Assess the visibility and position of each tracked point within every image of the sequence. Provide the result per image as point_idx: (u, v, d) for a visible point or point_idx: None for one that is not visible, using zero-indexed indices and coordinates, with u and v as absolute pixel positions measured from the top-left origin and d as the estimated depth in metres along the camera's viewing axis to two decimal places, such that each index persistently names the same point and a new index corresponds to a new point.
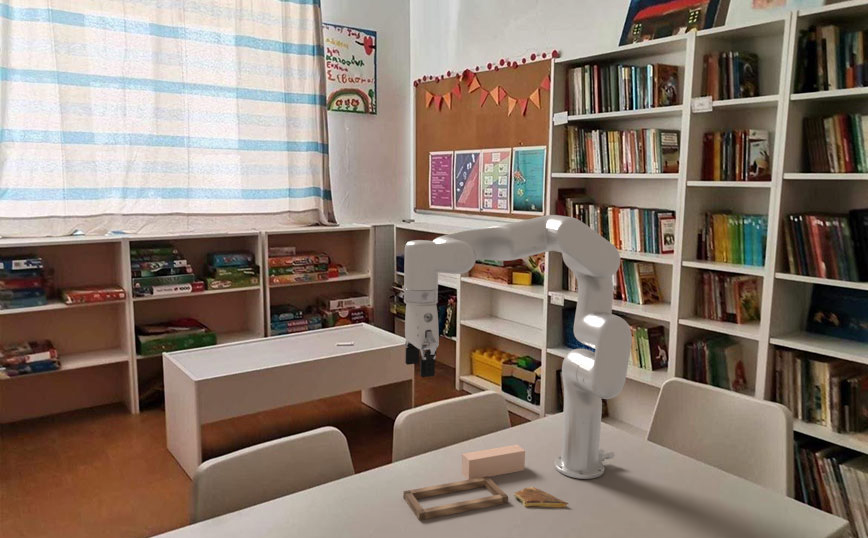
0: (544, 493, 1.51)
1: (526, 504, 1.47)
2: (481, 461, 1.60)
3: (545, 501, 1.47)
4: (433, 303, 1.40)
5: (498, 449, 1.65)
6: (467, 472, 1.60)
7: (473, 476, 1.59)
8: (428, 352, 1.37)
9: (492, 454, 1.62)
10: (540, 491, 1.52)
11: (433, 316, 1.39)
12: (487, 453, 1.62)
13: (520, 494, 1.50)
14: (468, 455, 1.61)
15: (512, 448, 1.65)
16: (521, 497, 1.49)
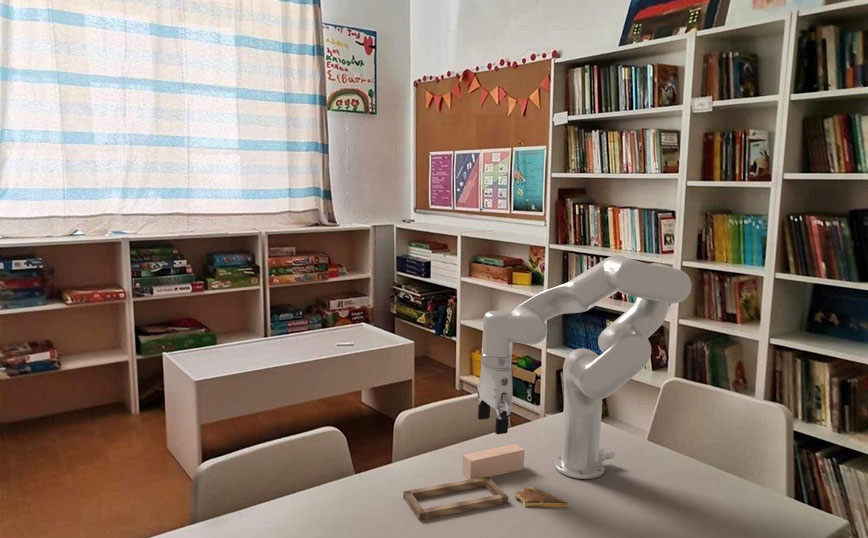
0: (544, 493, 1.51)
1: (526, 504, 1.47)
2: (482, 462, 1.59)
3: (545, 501, 1.47)
4: (508, 368, 1.57)
5: (498, 449, 1.65)
6: (468, 473, 1.59)
7: (474, 477, 1.59)
8: (504, 413, 1.54)
9: (492, 454, 1.62)
10: (540, 491, 1.52)
11: (508, 380, 1.56)
12: (487, 453, 1.62)
13: (520, 494, 1.50)
14: (469, 456, 1.61)
15: (511, 448, 1.66)
16: (521, 497, 1.49)
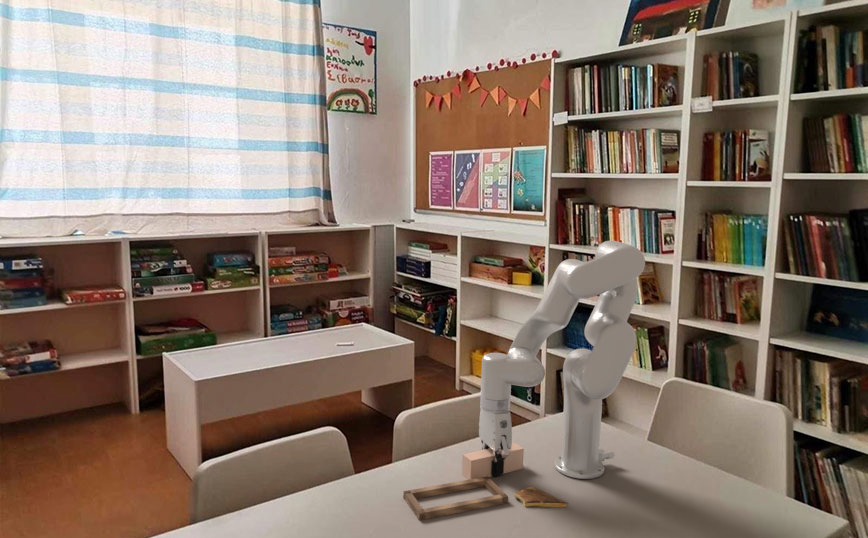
0: (544, 493, 1.51)
1: (526, 504, 1.47)
2: (482, 461, 1.59)
3: (546, 501, 1.47)
4: (507, 410, 1.59)
5: None
6: (468, 473, 1.59)
7: (475, 476, 1.59)
8: (499, 456, 1.58)
9: (492, 453, 1.62)
10: (540, 491, 1.52)
11: (507, 422, 1.58)
12: (487, 452, 1.62)
13: (520, 494, 1.50)
14: (469, 455, 1.60)
15: None
16: (521, 497, 1.49)
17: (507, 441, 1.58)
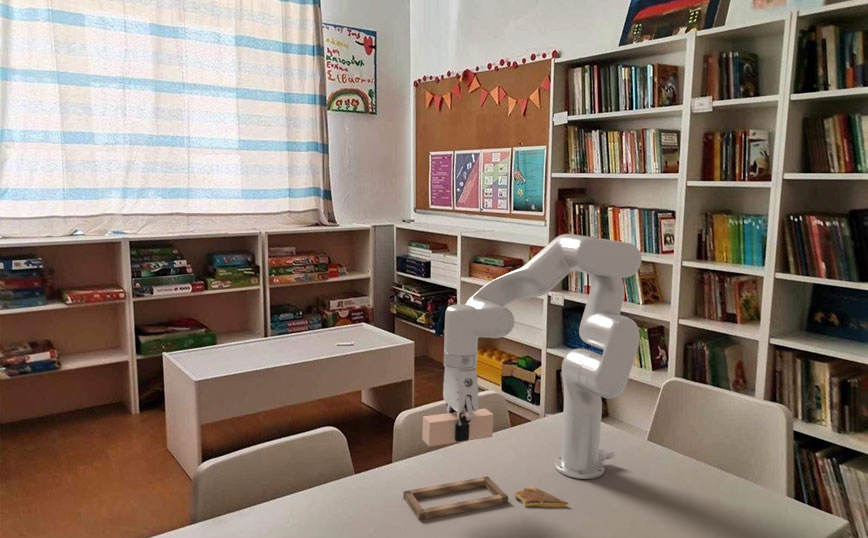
0: (544, 493, 1.51)
1: (526, 504, 1.47)
2: (444, 424, 1.43)
3: (546, 501, 1.47)
4: (473, 368, 1.42)
5: None
6: (427, 437, 1.43)
7: (434, 441, 1.43)
8: (463, 419, 1.42)
9: (456, 417, 1.45)
10: (540, 491, 1.52)
11: (473, 381, 1.41)
12: (451, 416, 1.46)
13: (520, 494, 1.50)
14: (429, 417, 1.45)
15: (479, 412, 1.49)
16: (521, 497, 1.49)
17: (472, 402, 1.42)
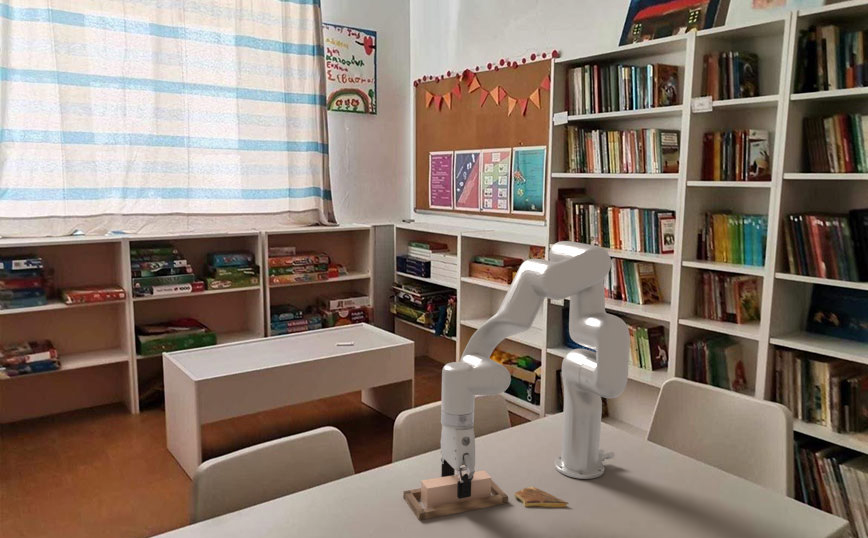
0: (544, 493, 1.51)
1: (526, 504, 1.47)
2: (441, 489, 1.45)
3: (546, 501, 1.48)
4: (470, 426, 1.44)
5: None
6: (425, 501, 1.45)
7: (432, 506, 1.45)
8: (465, 477, 1.41)
9: (454, 481, 1.47)
10: (540, 491, 1.52)
11: (470, 439, 1.43)
12: (449, 480, 1.48)
13: (521, 494, 1.50)
14: (427, 482, 1.47)
15: (477, 475, 1.50)
16: (521, 497, 1.49)
17: (470, 460, 1.43)
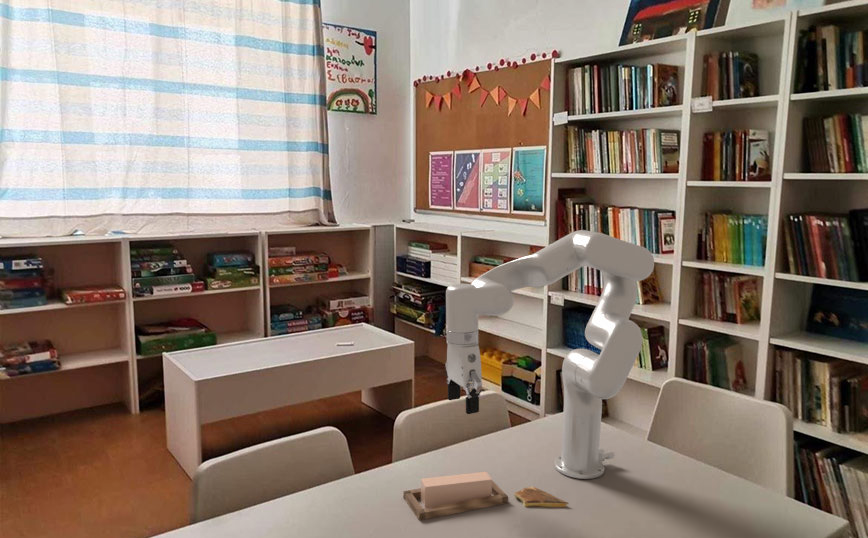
0: (544, 493, 1.51)
1: (526, 504, 1.47)
2: (440, 489, 1.45)
3: (546, 501, 1.48)
4: (475, 343, 1.48)
5: (463, 476, 1.50)
6: (424, 500, 1.46)
7: (430, 505, 1.45)
8: (473, 391, 1.45)
9: (453, 481, 1.47)
10: (540, 491, 1.52)
11: (476, 356, 1.47)
12: (449, 480, 1.48)
13: (521, 494, 1.50)
14: (427, 480, 1.47)
15: (478, 476, 1.50)
16: (521, 497, 1.49)
17: None
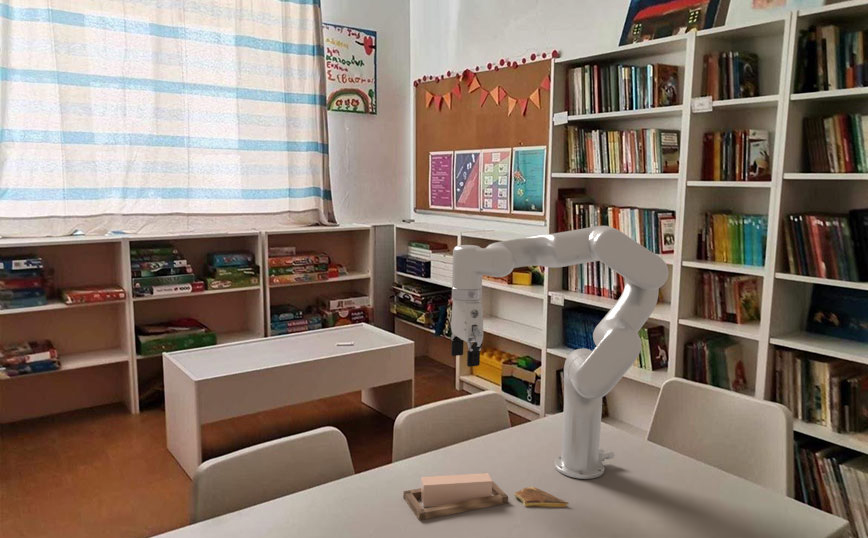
0: (544, 493, 1.51)
1: (526, 504, 1.47)
2: (438, 488, 1.46)
3: (546, 501, 1.48)
4: (478, 301, 1.58)
5: (463, 476, 1.50)
6: (422, 498, 1.47)
7: (429, 503, 1.46)
8: (475, 344, 1.55)
9: (453, 481, 1.47)
10: (540, 491, 1.52)
11: (479, 312, 1.57)
12: (448, 479, 1.48)
13: (521, 493, 1.50)
14: (426, 479, 1.48)
15: (478, 477, 1.49)
16: (521, 497, 1.49)
17: None
